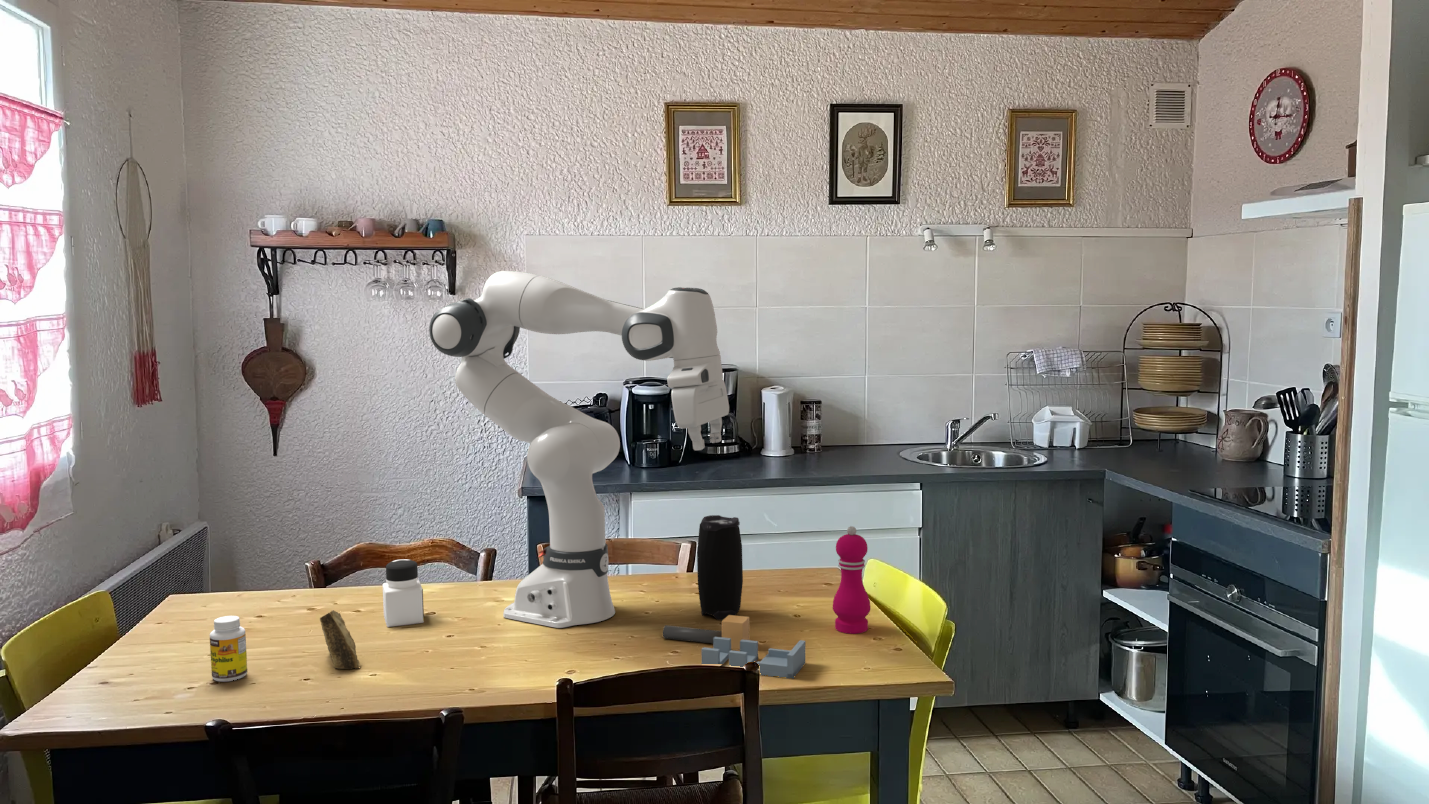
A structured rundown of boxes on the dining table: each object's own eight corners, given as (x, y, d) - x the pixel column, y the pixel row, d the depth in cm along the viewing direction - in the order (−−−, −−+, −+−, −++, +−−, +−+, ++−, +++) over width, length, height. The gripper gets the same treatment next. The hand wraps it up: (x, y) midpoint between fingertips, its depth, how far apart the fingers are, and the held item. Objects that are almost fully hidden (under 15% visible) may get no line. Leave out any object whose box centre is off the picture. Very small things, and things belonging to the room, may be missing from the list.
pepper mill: (869, 635, 198) (869, 531, 196) (830, 633, 199) (830, 529, 197) (871, 624, 205) (871, 522, 203) (834, 622, 207) (834, 521, 204)
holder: (753, 674, 179) (753, 651, 178) (767, 658, 186) (766, 636, 186) (793, 678, 176) (793, 655, 176) (805, 663, 184) (805, 640, 183)
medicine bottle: (424, 623, 209) (421, 563, 208) (386, 627, 206) (384, 567, 205) (420, 613, 215) (417, 555, 214) (383, 617, 213) (381, 559, 212)
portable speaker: (750, 611, 214) (750, 516, 212) (724, 624, 206) (724, 525, 204) (715, 605, 219) (714, 512, 217) (689, 616, 211) (688, 520, 209)
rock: (315, 638, 193) (294, 649, 183) (343, 600, 193) (325, 609, 183) (362, 674, 193) (345, 686, 183) (391, 636, 193) (375, 646, 183)
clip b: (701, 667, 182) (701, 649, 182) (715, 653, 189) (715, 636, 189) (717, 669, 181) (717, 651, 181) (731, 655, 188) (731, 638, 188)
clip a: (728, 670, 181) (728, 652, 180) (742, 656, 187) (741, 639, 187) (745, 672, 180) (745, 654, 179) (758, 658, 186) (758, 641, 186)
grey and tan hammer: (661, 641, 196) (660, 615, 196) (669, 634, 200) (668, 609, 200) (742, 650, 191) (742, 623, 190) (749, 643, 195) (749, 616, 194)
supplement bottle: (204, 682, 178) (201, 623, 177) (225, 670, 183) (221, 613, 182) (235, 683, 177) (231, 624, 176) (254, 672, 182) (251, 614, 181)
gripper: (702, 370, 208) (710, 439, 209) (663, 379, 189) (672, 455, 190) (732, 366, 206) (740, 436, 207) (695, 375, 187) (705, 452, 188)
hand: (707, 445), depth 198 cm, fingers open, 8 cm apart
